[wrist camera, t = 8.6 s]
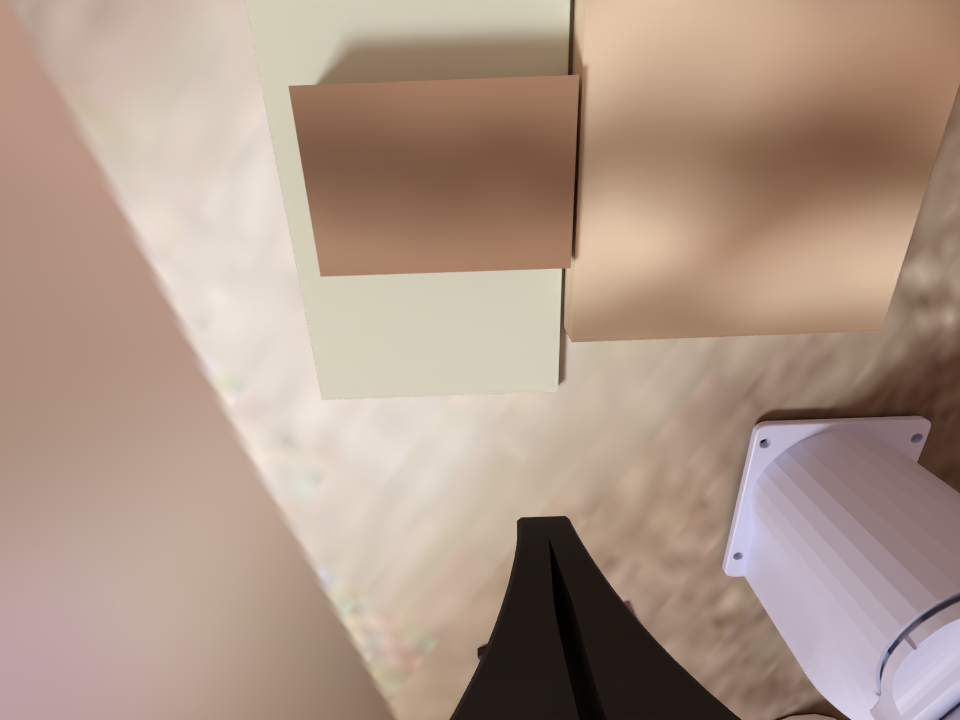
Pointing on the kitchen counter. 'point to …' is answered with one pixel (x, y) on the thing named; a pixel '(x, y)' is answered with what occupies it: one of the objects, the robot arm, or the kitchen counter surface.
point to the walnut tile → (439, 173)
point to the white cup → (809, 717)
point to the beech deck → (751, 162)
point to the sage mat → (420, 296)
